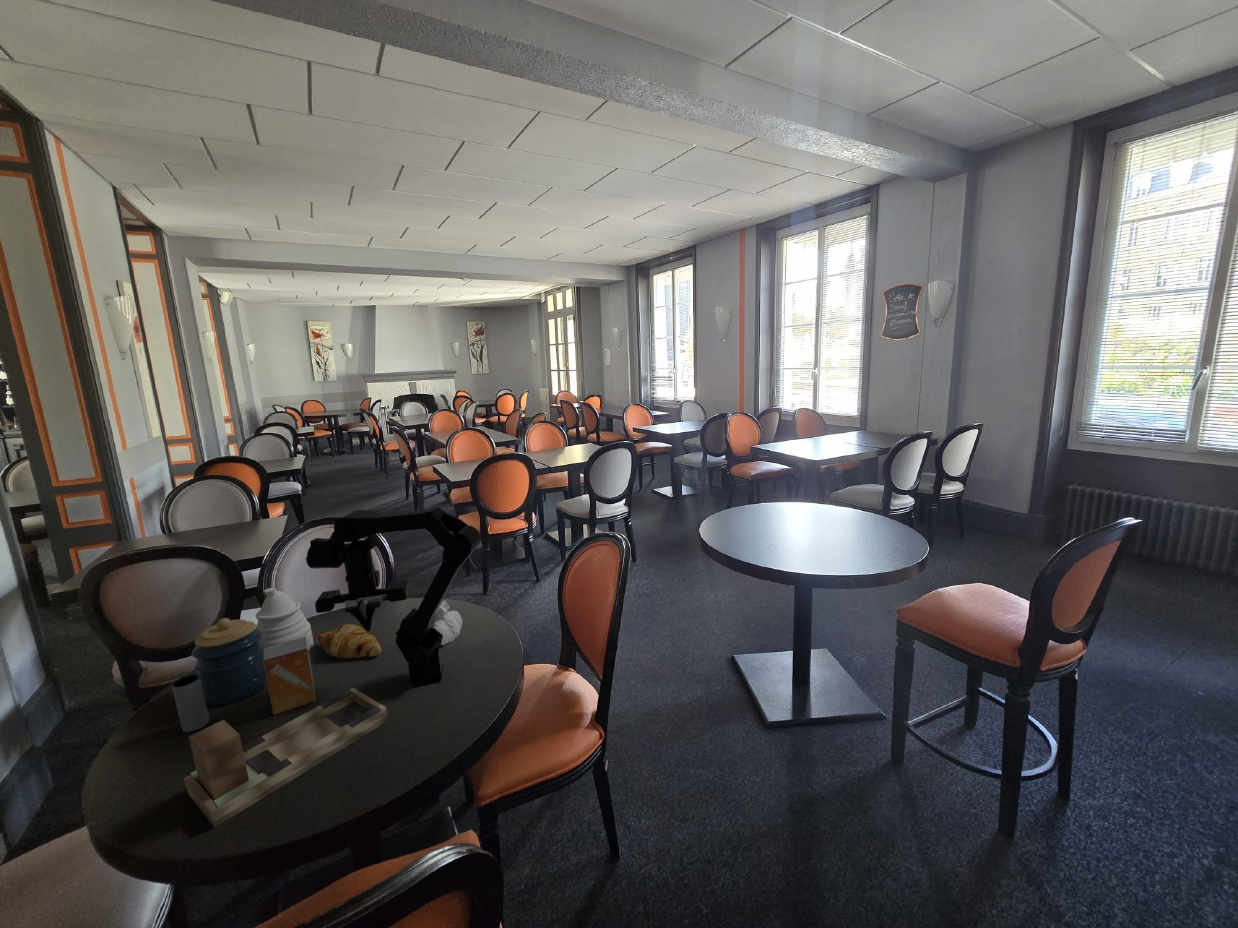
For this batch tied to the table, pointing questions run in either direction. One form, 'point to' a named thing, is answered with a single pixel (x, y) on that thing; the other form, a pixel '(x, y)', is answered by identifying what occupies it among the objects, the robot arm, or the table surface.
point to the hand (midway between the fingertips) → (368, 630)
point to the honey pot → (282, 620)
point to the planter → (190, 702)
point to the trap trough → (292, 751)
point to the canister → (230, 661)
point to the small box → (289, 675)
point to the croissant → (349, 642)
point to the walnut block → (219, 759)
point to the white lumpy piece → (447, 623)
